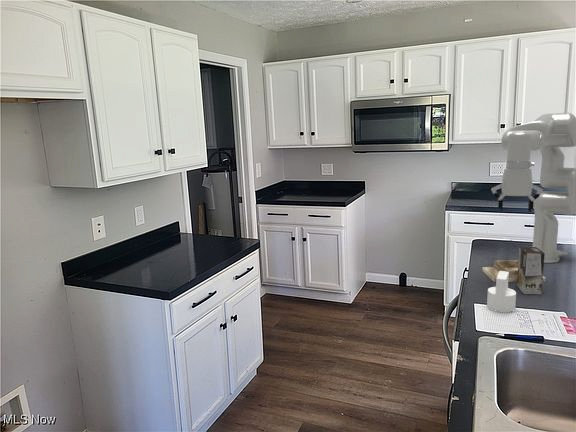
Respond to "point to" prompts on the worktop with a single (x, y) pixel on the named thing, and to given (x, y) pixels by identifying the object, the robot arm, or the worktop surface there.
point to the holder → (506, 266)
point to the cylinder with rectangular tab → (501, 294)
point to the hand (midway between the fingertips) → (515, 210)
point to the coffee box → (530, 270)
